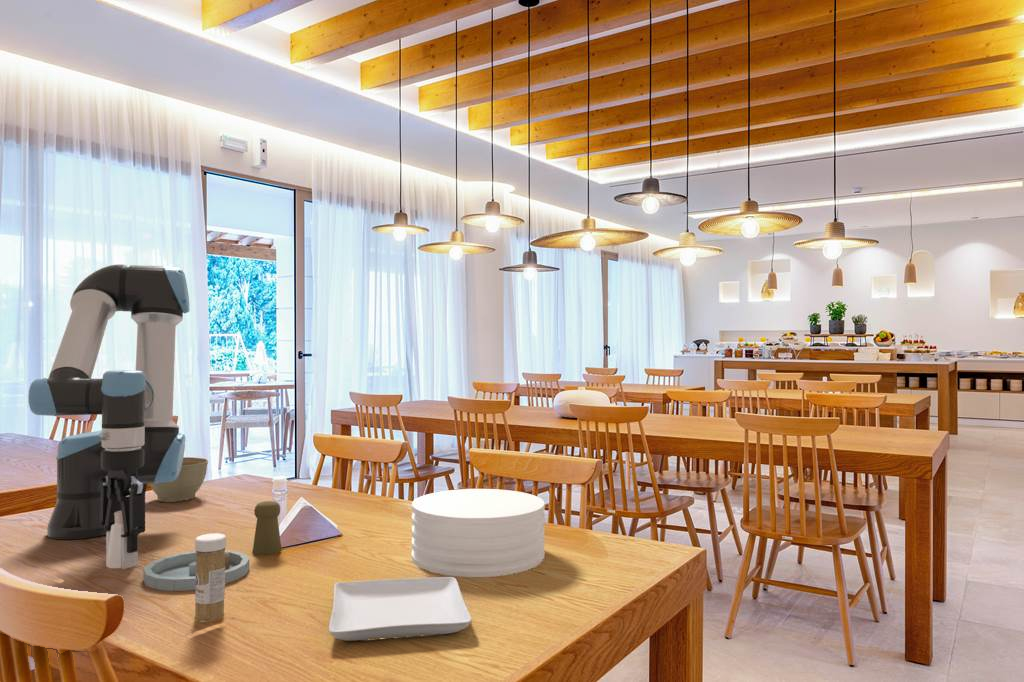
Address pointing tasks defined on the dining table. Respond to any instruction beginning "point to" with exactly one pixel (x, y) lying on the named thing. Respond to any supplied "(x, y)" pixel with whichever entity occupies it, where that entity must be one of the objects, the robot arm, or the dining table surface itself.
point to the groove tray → (188, 571)
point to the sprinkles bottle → (210, 577)
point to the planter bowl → (183, 481)
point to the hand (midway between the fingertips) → (121, 565)
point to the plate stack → (478, 532)
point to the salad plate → (397, 608)
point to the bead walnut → (227, 560)
